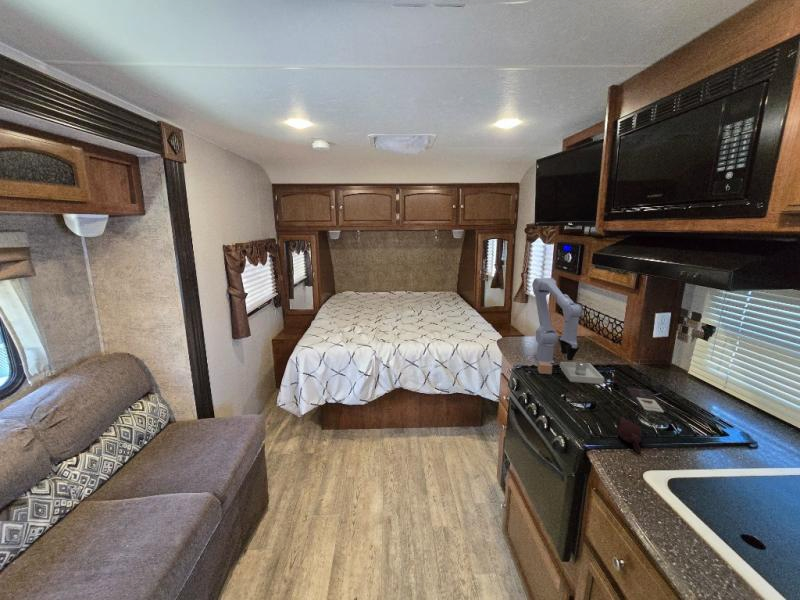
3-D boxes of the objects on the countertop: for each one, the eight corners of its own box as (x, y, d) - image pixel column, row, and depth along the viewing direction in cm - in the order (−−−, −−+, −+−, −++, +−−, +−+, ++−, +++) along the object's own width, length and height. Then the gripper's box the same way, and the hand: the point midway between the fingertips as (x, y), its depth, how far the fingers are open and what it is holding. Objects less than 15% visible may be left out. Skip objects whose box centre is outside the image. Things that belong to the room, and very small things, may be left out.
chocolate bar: (649, 389, 140) (668, 412, 124) (649, 391, 140) (667, 414, 124) (625, 386, 143) (640, 408, 126) (625, 388, 143) (640, 410, 127)
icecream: (608, 409, 115) (623, 438, 102) (633, 407, 113) (651, 437, 99) (611, 425, 117) (625, 456, 103) (635, 424, 114) (653, 456, 101)
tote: (559, 367, 164) (560, 361, 163) (589, 368, 162) (589, 363, 161) (570, 381, 149) (571, 375, 148) (603, 384, 146) (604, 378, 146)
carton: (537, 370, 161) (538, 361, 160) (549, 370, 160) (550, 362, 159) (539, 373, 157) (540, 365, 156) (551, 374, 156) (552, 365, 155)
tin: (573, 371, 157) (574, 361, 156) (582, 371, 157) (583, 361, 156) (577, 375, 153) (579, 365, 152) (587, 376, 153) (588, 365, 152)
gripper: (556, 324, 159) (553, 350, 162) (566, 334, 145) (563, 362, 148) (571, 325, 158) (568, 351, 161) (583, 335, 144) (579, 363, 147)
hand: (566, 356), depth 155 cm, fingers open, 7 cm apart
